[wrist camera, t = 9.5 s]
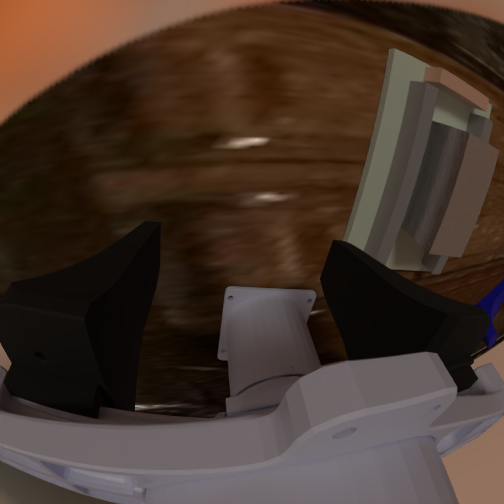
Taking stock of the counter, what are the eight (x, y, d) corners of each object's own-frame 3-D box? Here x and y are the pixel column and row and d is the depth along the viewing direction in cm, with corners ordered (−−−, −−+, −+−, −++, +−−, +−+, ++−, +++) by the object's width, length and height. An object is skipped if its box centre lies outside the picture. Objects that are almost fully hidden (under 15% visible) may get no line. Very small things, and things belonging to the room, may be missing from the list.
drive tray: (432, 267, 27) (446, 283, 24) (335, 260, 24) (347, 280, 22) (485, 103, 18) (506, 109, 15) (389, 49, 15) (410, 46, 13)
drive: (428, 227, 23) (461, 257, 19) (395, 222, 22) (428, 253, 18) (457, 133, 18) (499, 150, 14) (425, 118, 18) (469, 132, 13)
